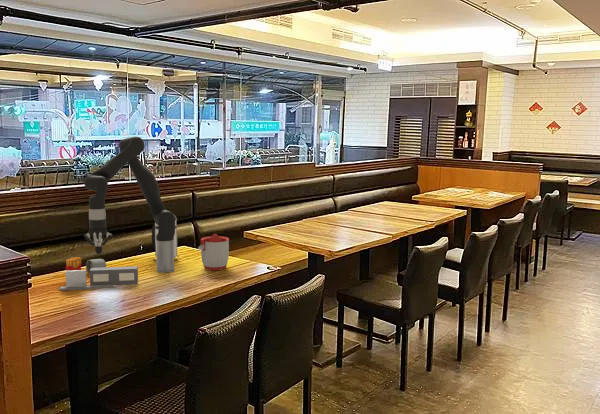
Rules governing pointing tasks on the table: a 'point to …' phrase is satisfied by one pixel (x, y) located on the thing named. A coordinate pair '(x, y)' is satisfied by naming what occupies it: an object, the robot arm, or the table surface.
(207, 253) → the citrus juicer
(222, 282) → the table surface
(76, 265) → the french fries
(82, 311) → the table surface
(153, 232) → the coffee press
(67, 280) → the sliding shutter
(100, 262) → the ceramic mug
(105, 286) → the grey box with rod
